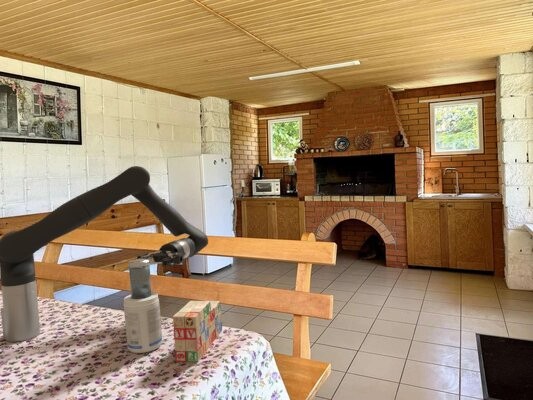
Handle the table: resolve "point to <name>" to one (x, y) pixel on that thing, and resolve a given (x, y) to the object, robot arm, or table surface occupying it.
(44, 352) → the table surface
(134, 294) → the tea tin
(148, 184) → the robot arm
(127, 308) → the supplement tub
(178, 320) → the stack of blocks
